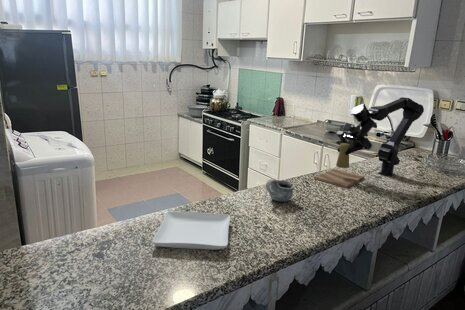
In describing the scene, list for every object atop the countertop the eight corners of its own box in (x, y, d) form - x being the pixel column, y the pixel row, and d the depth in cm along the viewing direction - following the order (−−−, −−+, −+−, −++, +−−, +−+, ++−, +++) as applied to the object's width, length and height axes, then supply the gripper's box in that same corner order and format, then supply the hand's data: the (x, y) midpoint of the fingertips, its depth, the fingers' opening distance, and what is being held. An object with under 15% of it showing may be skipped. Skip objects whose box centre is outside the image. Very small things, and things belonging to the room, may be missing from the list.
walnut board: (333, 170, 177) (333, 168, 177) (364, 178, 167) (364, 176, 167) (314, 179, 163) (314, 176, 162) (346, 188, 152) (347, 185, 152)
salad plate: (167, 219, 115) (167, 209, 114) (230, 222, 115) (230, 213, 114) (150, 252, 95) (150, 241, 94) (227, 257, 94) (228, 246, 94)
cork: (351, 166, 162) (354, 144, 159) (344, 168, 158) (347, 145, 156) (340, 163, 167) (343, 141, 164) (333, 165, 163) (336, 143, 160)
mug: (297, 201, 135) (299, 176, 133) (278, 209, 126) (281, 184, 124) (277, 194, 142) (279, 171, 139) (258, 201, 133) (260, 177, 130)
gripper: (341, 114, 166) (320, 137, 165) (370, 120, 150) (347, 146, 148) (352, 129, 171) (332, 152, 170) (381, 137, 155) (359, 162, 154)
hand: (341, 152), depth 160 cm, fingers closed on cork, 5 cm apart
